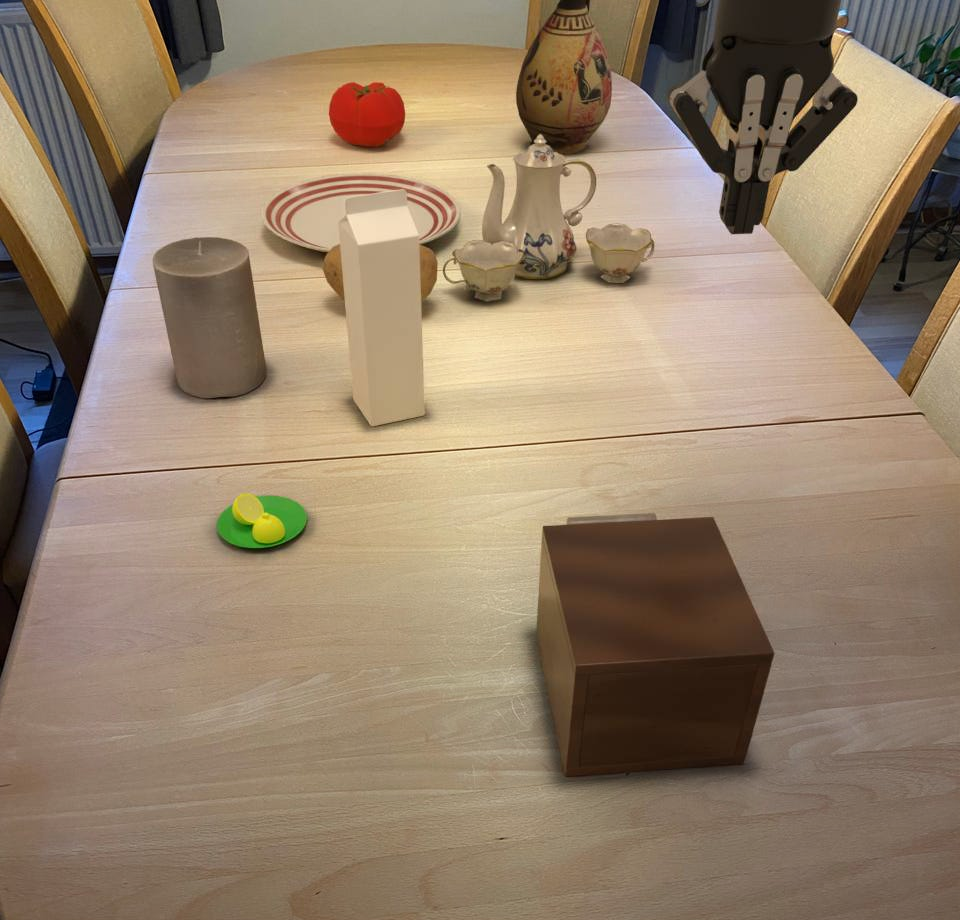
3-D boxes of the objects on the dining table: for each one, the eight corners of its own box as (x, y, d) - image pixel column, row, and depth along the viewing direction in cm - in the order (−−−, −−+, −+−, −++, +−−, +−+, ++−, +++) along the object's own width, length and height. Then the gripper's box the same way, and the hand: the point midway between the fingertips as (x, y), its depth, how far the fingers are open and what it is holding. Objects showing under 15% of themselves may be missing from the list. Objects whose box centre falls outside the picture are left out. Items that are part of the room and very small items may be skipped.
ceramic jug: (579, 167, 164) (594, -57, 144) (497, 150, 170) (501, -68, 150) (627, 139, 174) (648, -73, 154) (549, 123, 180) (559, -83, 160)
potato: (339, 286, 130) (334, 223, 125) (447, 297, 128) (446, 233, 123) (314, 320, 123) (307, 254, 118) (428, 331, 121) (426, 265, 116)
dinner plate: (499, 241, 141) (499, 217, 139) (322, 288, 130) (319, 262, 128) (396, 183, 158) (395, 160, 156) (231, 220, 147) (228, 196, 144)
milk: (425, 416, 107) (419, 200, 92) (370, 428, 105) (355, 209, 90) (404, 389, 111) (396, 178, 96) (351, 399, 109) (334, 186, 94)
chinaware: (468, 331, 125) (474, 195, 112) (417, 265, 135) (418, 135, 122) (665, 292, 133) (691, 162, 121) (604, 233, 143) (622, 108, 131)
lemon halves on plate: (200, 541, 91) (194, 515, 89) (247, 493, 97) (243, 467, 95) (279, 562, 89) (275, 536, 87) (323, 512, 94) (320, 486, 92)
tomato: (427, 142, 173) (425, 85, 167) (371, 160, 166) (367, 100, 160) (372, 124, 180) (368, 68, 174) (316, 140, 173) (310, 83, 167)
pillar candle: (223, 349, 118) (200, 216, 108) (285, 373, 114) (267, 238, 103) (158, 382, 112) (127, 246, 102) (221, 409, 108) (195, 270, 98)
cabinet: (535, 634, 82) (542, 525, 75) (692, 624, 83) (713, 516, 76) (565, 777, 71) (576, 665, 64) (744, 763, 72) (775, 652, 65)
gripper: (698, -43, 59) (660, 254, 71) (918, -45, 60) (845, 247, 72) (668, -65, 65) (637, 214, 77) (870, -67, 66) (809, 208, 78)
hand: (738, 230), depth 74 cm, fingers closed
